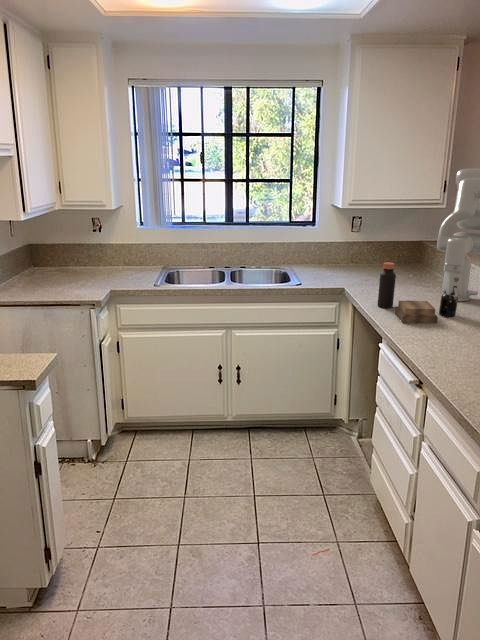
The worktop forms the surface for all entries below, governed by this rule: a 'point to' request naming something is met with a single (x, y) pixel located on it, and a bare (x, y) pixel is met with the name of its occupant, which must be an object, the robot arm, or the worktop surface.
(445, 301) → the supplement bottle
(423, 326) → the worktop surface
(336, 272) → the worktop surface
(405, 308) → the stepped wooden plinth
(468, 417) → the worktop surface
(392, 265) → the vinegar
